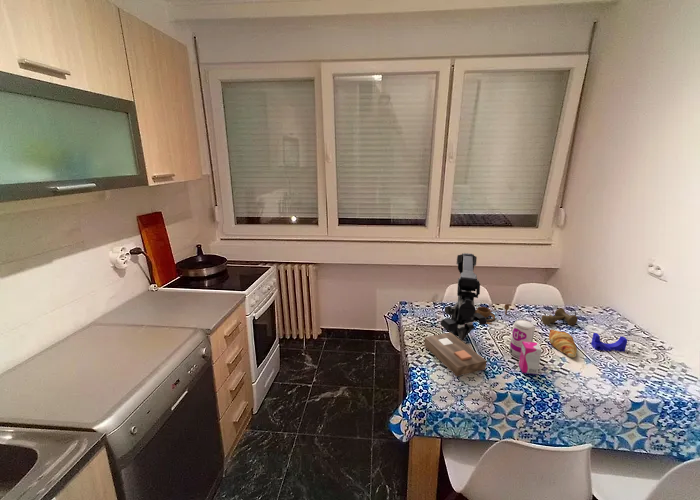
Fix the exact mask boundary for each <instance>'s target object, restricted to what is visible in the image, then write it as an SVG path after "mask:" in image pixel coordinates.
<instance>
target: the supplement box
mask: <svg viewBox="0 0 700 500" xmlns="http://www.w3.org/2000/svg"><path fill="white" fill-rule="evenodd" d="M541 355H542V348H541V346H540V345H539V343H538V342H525V341H522V347H521V354H520V358H519V362H518V366H519V368H520V371H521V373H522V375H523V374H526V375H532V376H538V374H539V369H540V363H541Z"/></svg>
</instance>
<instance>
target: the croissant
mask: <svg viewBox="0 0 700 500" xmlns="http://www.w3.org/2000/svg"><path fill="white" fill-rule="evenodd" d="M548 340H549V343H550V345H551V346H552V347H553V348H555V349H556V350H557V351H560V352H561V353H563V354H564V355H566V356H567V357H569V358H575V357H577V356H576V355H577V352H578V351H577V350H578V348H577V345H576V344H575V343H576V342H575V340H574V337H573V336H572V335H570V334H569V333H568V332H566V331H559V330H555V329H550V330H549V334H548Z"/></svg>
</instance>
